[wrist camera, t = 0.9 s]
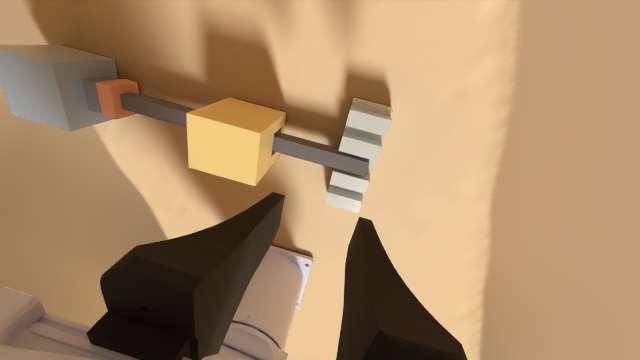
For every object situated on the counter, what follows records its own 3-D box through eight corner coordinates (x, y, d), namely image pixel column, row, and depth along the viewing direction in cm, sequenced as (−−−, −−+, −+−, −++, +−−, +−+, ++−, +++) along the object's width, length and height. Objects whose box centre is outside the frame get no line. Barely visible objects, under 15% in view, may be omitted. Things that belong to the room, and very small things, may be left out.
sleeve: (279, 155, 23) (254, 186, 18) (227, 141, 23) (188, 167, 18) (286, 112, 21) (260, 133, 16) (229, 97, 21) (186, 112, 16)
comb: (357, 200, 24) (356, 217, 22) (327, 192, 24) (323, 207, 22) (391, 106, 20) (393, 115, 18) (353, 97, 20) (351, 103, 18)
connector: (139, 120, 24) (89, 136, 20) (75, 102, 25) (12, 114, 20) (132, 64, 22) (72, 68, 17) (61, 45, 22) (-15, 44, 18)
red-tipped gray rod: (372, 146, 21) (372, 158, 18) (362, 173, 22) (361, 188, 20) (110, 74, 22) (80, 78, 20) (115, 105, 23) (87, 111, 21)
